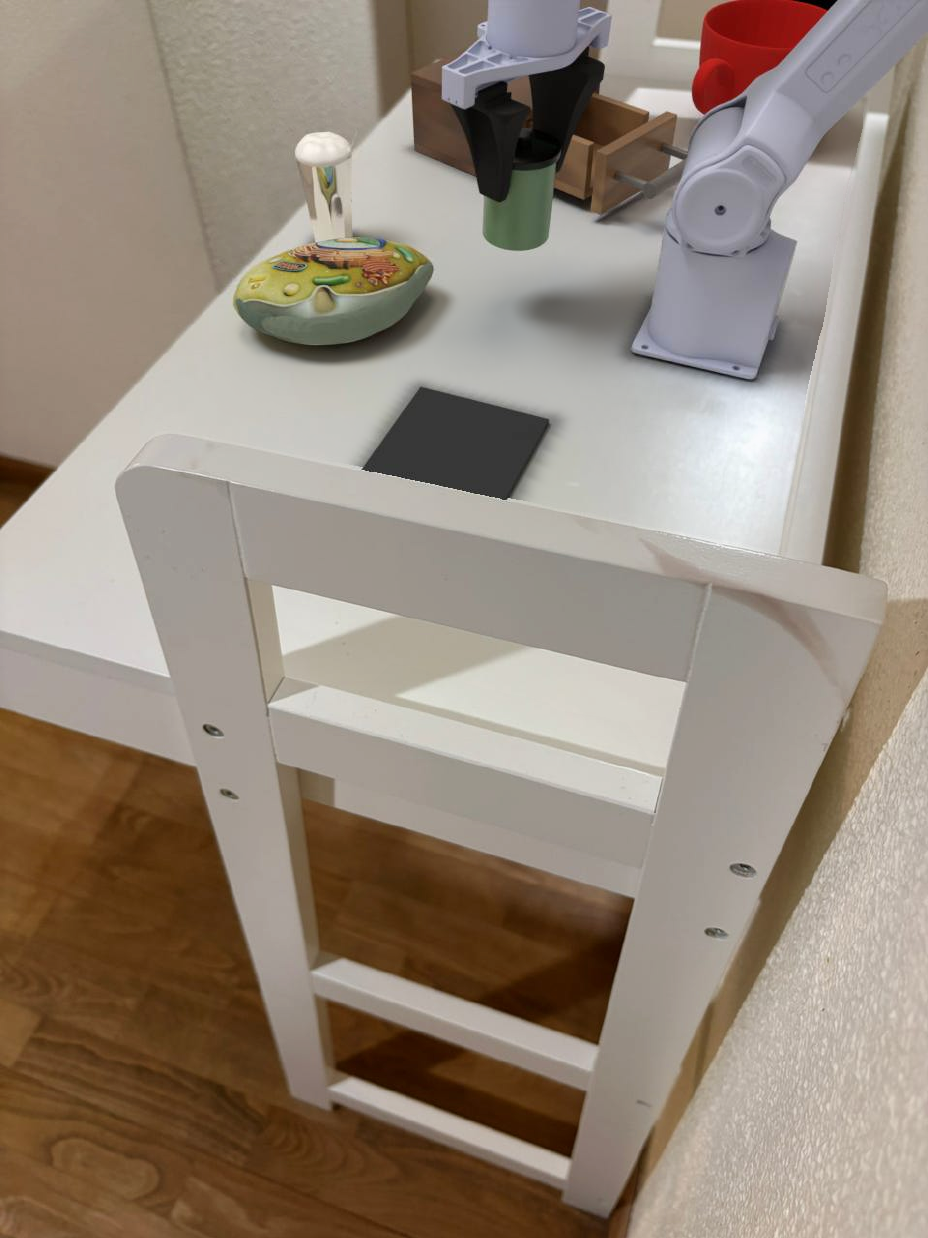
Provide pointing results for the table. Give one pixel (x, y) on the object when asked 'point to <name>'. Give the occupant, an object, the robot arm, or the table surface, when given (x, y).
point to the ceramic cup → (746, 45)
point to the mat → (458, 444)
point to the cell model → (332, 290)
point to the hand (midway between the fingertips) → (520, 181)
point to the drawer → (619, 154)
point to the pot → (525, 195)
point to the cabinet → (449, 116)
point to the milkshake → (327, 183)
